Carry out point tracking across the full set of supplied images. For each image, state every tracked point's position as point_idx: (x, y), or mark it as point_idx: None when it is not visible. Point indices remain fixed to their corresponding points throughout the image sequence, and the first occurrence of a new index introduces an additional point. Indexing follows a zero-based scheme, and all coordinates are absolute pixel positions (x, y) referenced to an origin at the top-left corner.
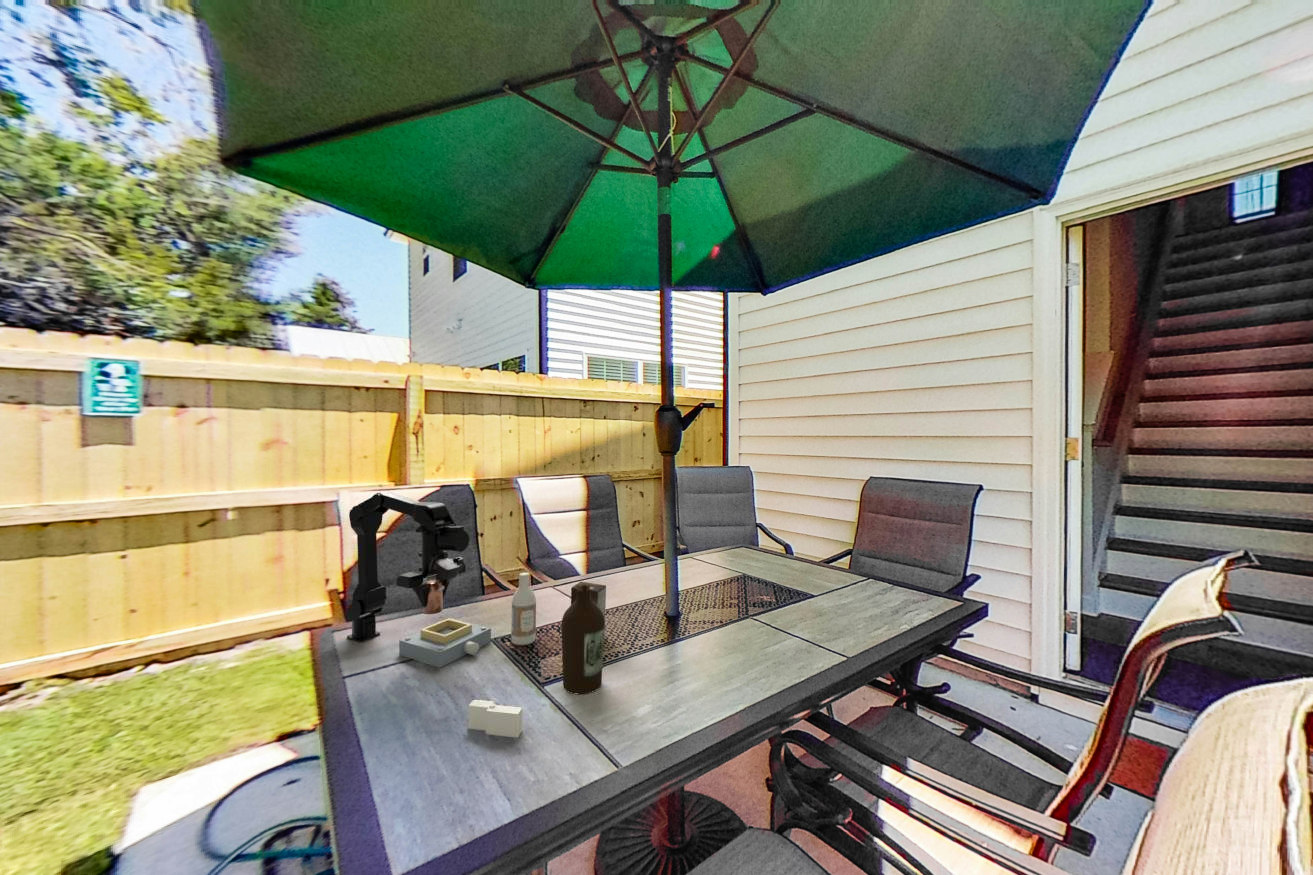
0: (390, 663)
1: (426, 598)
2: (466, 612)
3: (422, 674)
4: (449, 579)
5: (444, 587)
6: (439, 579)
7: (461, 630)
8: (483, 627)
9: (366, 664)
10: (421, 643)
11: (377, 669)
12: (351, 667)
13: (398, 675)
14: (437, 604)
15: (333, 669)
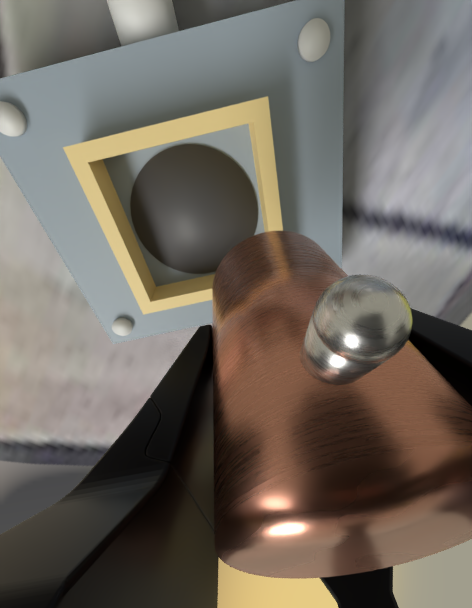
0: (376, 232)
1: (415, 325)
2: (41, 401)
3: (395, 21)
4: (76, 542)
5: (185, 413)
6: (200, 575)
7: (145, 127)
8: (4, 122)
9: (407, 277)
10: (319, 203)
11: (421, 221)
12: (435, 287)
13: (434, 110)
14: (296, 255)
15: (457, 307)
